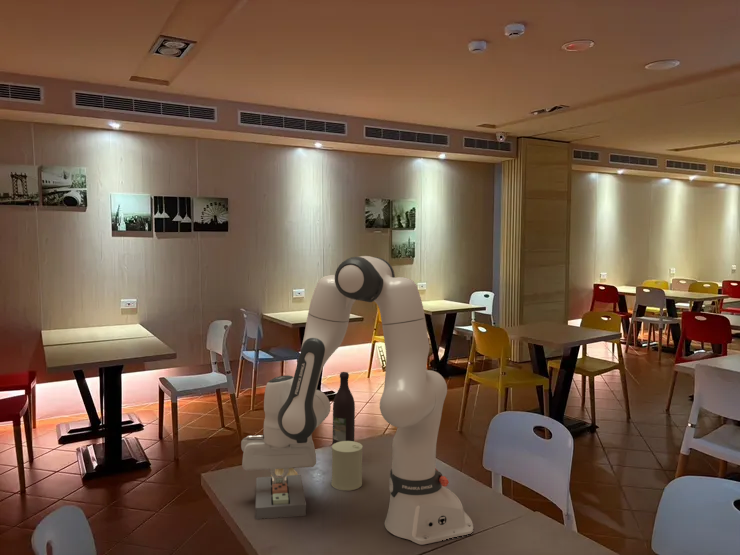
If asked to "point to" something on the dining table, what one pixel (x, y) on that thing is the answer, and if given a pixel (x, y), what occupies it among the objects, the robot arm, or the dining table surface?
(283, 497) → the button two
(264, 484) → the button panel
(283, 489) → the button three
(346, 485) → the can
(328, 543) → the dining table surface
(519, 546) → the dining table surface
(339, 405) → the wine bottle
